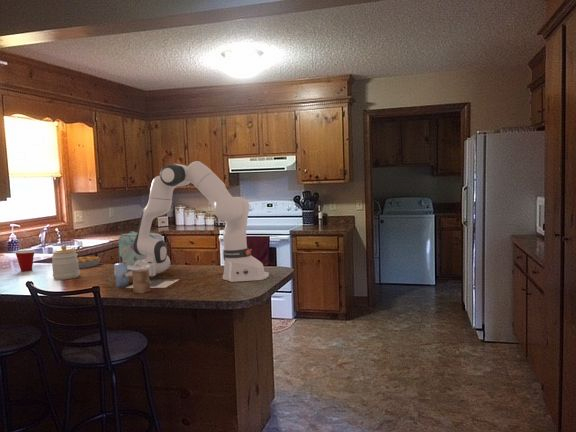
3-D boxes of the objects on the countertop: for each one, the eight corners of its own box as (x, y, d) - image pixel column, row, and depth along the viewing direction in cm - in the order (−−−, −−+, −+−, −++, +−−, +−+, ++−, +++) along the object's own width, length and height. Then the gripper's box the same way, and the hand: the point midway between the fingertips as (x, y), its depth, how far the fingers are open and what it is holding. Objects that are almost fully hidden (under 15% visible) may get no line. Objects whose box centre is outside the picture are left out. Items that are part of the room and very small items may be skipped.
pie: (57, 266, 288) (56, 258, 287) (94, 261, 302) (93, 253, 301) (67, 271, 271) (67, 262, 271) (106, 265, 285) (105, 256, 285)
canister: (130, 285, 223) (128, 262, 222) (125, 288, 218) (123, 264, 217) (120, 285, 224) (118, 262, 223) (114, 288, 219) (112, 265, 218)
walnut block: (142, 290, 211) (140, 268, 210) (150, 291, 209) (148, 269, 208) (133, 293, 207) (131, 271, 206) (141, 294, 204) (139, 271, 203)
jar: (69, 280, 244) (66, 246, 243) (47, 280, 247) (44, 247, 245) (85, 274, 257) (82, 242, 255) (64, 274, 259) (61, 243, 258)
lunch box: (116, 270, 263) (112, 233, 261) (127, 267, 273) (124, 230, 271) (157, 271, 255) (154, 232, 253) (167, 267, 265) (164, 229, 263)
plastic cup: (36, 271, 276) (34, 250, 275) (15, 273, 273) (13, 252, 271) (38, 267, 287) (36, 248, 285) (18, 270, 283) (16, 250, 282)
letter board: (179, 280, 229) (179, 279, 229) (165, 288, 213) (165, 287, 213) (141, 280, 232) (141, 279, 232) (125, 288, 217) (125, 287, 217)
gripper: (127, 261, 237) (104, 266, 225) (156, 263, 227) (134, 268, 215) (128, 273, 237) (105, 279, 225) (157, 275, 227) (135, 282, 215)
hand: (120, 274), depth 220 cm, fingers closed on canister, 5 cm apart
